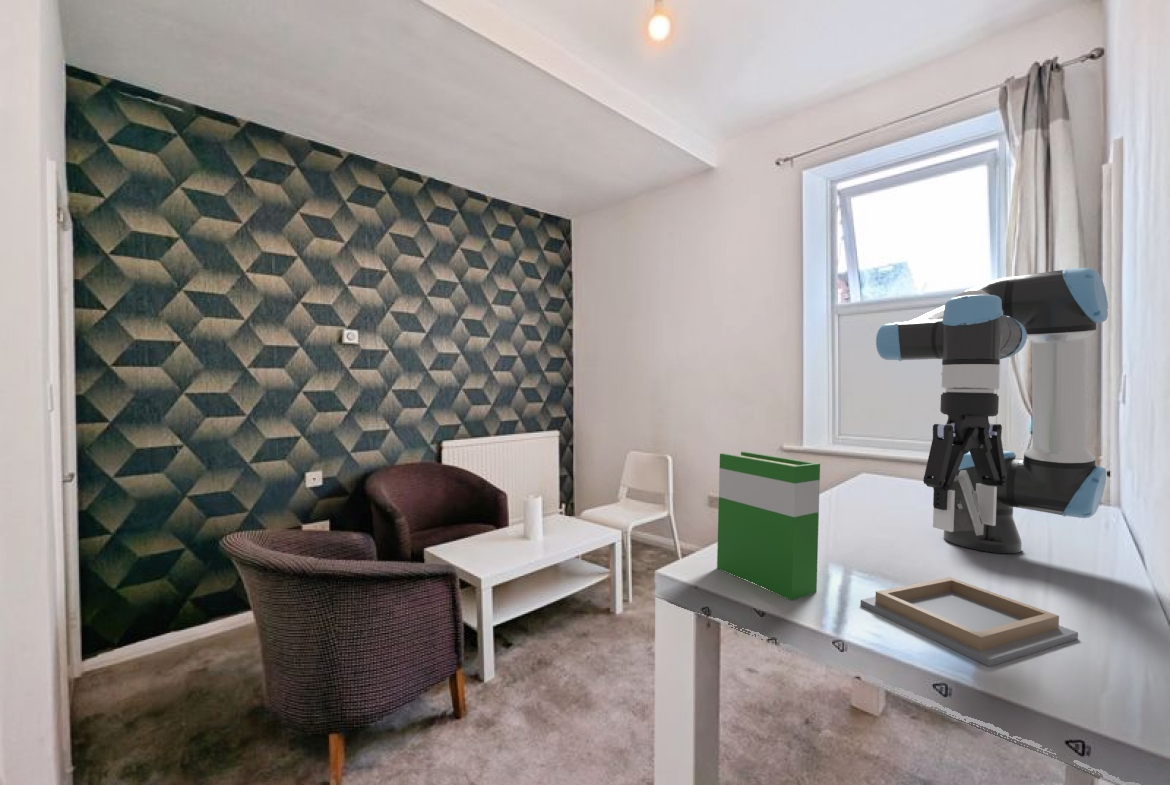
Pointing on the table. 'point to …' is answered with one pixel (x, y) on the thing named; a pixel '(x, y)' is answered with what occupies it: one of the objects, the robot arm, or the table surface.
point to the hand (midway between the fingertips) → (964, 526)
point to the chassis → (971, 619)
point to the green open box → (769, 522)
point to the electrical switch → (966, 505)
